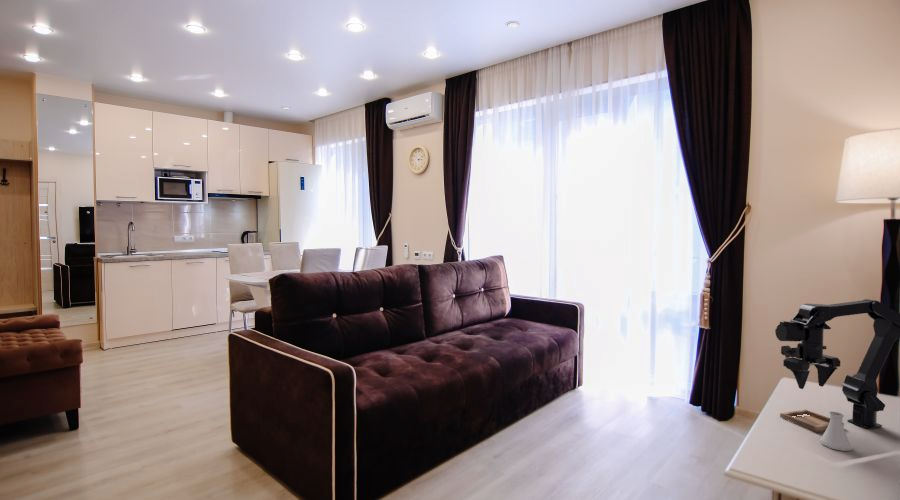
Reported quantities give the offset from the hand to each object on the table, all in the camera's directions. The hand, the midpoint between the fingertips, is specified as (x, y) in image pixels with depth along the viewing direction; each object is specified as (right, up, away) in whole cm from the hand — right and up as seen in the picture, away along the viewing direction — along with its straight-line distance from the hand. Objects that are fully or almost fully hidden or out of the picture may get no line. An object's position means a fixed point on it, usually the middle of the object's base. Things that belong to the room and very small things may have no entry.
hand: (811, 387), depth 151 cm
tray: (0, -12, 0) cm, 12 cm away
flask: (-5, -13, -16) cm, 21 cm away
